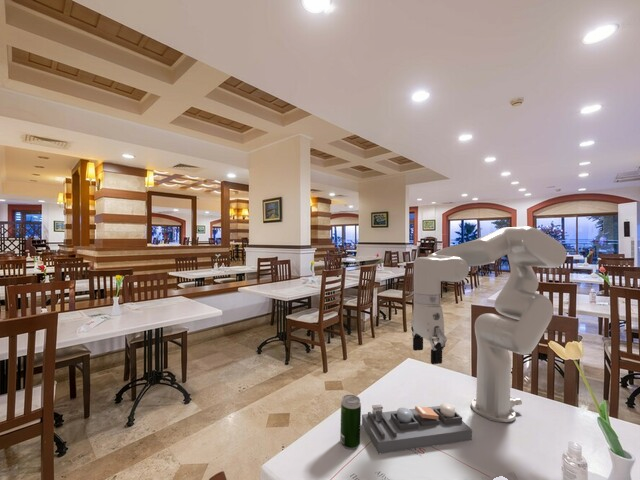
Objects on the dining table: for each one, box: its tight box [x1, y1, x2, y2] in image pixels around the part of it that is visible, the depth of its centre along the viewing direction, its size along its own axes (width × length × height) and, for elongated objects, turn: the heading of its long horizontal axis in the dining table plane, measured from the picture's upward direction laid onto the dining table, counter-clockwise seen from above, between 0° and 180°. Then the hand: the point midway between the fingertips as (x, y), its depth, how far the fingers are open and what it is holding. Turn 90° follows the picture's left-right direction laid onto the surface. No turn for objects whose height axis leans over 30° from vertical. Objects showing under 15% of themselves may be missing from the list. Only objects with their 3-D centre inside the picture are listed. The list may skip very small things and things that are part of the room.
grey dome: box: [396, 407, 412, 423], centre depth 83 cm, size 4×4×2 cm
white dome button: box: [439, 402, 456, 418], centre depth 86 cm, size 4×4×2 cm
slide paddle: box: [371, 404, 384, 421], centre depth 85 cm, size 3×2×4 cm
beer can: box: [339, 394, 362, 451], centre depth 79 cm, size 5×5×12 cm
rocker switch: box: [414, 405, 439, 419], centre depth 85 cm, size 5×4×1 cm
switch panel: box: [361, 405, 473, 455], centre depth 84 cm, size 28×12×4 cm, turn 102°
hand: (426, 356), depth 86 cm, fingers open, 9 cm apart
